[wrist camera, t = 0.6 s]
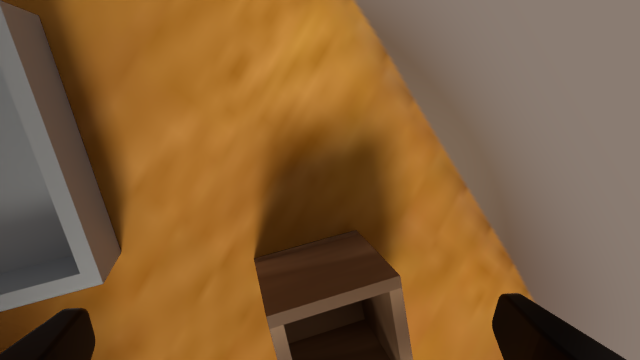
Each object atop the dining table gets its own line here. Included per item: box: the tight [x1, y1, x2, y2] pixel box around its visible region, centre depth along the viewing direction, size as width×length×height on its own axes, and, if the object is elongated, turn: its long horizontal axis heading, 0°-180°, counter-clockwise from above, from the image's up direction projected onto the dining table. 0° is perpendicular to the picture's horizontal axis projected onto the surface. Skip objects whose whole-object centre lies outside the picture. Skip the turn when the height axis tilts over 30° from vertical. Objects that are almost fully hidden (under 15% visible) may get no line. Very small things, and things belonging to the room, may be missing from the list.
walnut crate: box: [254, 230, 413, 360], centre depth 21 cm, size 6×6×6 cm
